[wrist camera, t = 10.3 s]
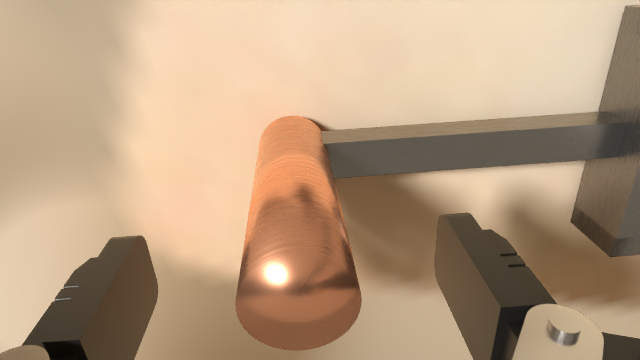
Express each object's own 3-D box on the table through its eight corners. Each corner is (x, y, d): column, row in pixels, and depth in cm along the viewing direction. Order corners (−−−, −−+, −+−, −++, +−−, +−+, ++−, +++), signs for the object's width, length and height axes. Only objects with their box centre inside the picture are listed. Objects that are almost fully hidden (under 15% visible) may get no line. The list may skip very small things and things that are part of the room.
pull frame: (244, 28, 17) (197, 95, 8) (865, -9, 18) (1449, 13, 9) (271, 246, 21) (260, 445, 12) (761, 206, 22) (1076, 362, 14)
